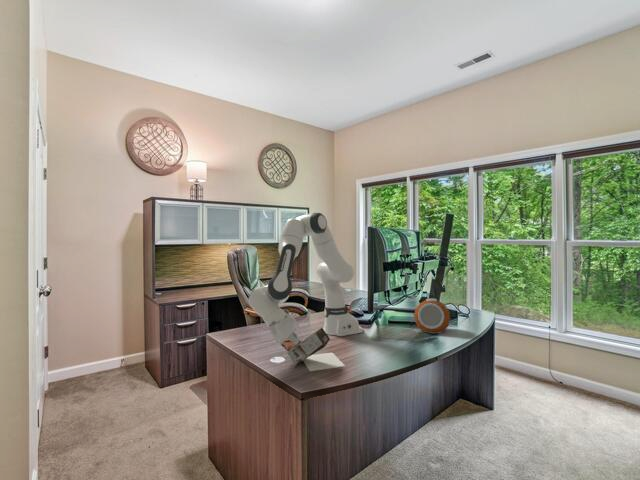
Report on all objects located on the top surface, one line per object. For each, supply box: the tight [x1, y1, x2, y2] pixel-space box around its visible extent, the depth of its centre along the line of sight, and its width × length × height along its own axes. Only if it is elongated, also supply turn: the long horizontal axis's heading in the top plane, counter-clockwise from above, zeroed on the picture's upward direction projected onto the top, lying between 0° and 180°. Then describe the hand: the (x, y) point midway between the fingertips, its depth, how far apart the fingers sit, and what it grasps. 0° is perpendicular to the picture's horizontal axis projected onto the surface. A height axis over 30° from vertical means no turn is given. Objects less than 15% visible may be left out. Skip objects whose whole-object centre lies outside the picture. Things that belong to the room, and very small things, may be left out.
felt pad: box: [302, 352, 346, 372], centre depth 140 cm, size 15×16×1 cm
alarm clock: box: [413, 297, 451, 334], centre depth 184 cm, size 19×18×17 cm
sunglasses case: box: [280, 338, 295, 352], centre depth 163 cm, size 18×7×7 cm, turn 27°
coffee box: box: [286, 327, 331, 366], centre depth 139 cm, size 9×6×16 cm
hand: (298, 343), depth 140 cm, fingers closed, pressing on coffee box
